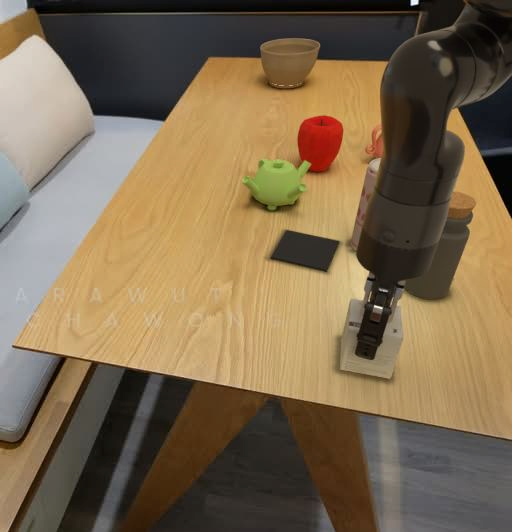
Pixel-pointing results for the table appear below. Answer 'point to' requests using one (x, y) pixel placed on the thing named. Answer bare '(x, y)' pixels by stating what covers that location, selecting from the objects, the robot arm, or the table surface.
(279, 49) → the planter bowl
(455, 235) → the bottle
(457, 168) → the robot arm
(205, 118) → the table surface
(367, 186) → the beverage can
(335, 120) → the apple
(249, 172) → the table surface
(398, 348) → the white cardboard box
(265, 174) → the teapot
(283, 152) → the table surface
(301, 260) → the coaster
